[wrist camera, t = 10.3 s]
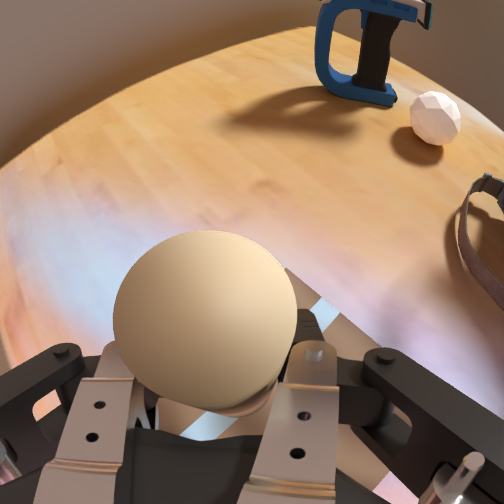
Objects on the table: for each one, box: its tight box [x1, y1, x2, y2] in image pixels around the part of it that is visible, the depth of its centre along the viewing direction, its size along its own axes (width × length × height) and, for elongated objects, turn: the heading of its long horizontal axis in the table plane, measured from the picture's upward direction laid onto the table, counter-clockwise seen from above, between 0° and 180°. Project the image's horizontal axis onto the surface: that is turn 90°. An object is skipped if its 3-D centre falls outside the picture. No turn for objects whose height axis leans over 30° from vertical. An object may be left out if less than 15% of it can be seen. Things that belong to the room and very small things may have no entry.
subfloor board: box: [157, 268, 412, 491], centre depth 21 cm, size 22×18×2 cm
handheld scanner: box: [315, 0, 433, 107], centre depth 36 cm, size 4×16×19 cm, turn 81°
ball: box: [410, 91, 461, 145], centre depth 36 cm, size 8×8×8 cm
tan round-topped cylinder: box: [113, 230, 297, 418], centre depth 11 cm, size 4×4×11 cm
